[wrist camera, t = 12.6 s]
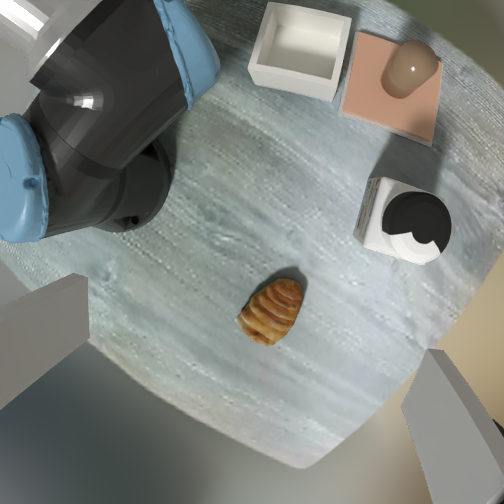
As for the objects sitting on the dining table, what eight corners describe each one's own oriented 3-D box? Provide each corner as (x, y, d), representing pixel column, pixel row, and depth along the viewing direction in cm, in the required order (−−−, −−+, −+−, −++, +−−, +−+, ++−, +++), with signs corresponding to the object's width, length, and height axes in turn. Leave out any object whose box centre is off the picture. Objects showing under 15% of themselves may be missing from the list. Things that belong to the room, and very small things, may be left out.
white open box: (255, 84, 37) (247, 68, 31) (273, 23, 34) (268, 1, 29) (332, 102, 36) (336, 88, 30) (346, 38, 34) (351, 18, 28)
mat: (337, 115, 36) (337, 114, 36) (355, 32, 33) (355, 31, 33) (430, 147, 35) (431, 147, 34) (442, 64, 32) (443, 63, 31)
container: (367, 177, 37) (398, 173, 25) (421, 196, 36) (469, 201, 24) (351, 236, 39) (374, 259, 26) (405, 252, 38) (445, 280, 26)
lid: (342, 111, 36) (354, 88, 26) (358, 34, 33) (371, -3, 23) (428, 141, 34) (463, 130, 25) (439, 64, 32) (470, 38, 22)
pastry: (273, 264, 41) (271, 272, 38) (316, 293, 41) (317, 303, 38) (235, 318, 44) (229, 329, 40) (275, 344, 44) (273, 357, 40)
